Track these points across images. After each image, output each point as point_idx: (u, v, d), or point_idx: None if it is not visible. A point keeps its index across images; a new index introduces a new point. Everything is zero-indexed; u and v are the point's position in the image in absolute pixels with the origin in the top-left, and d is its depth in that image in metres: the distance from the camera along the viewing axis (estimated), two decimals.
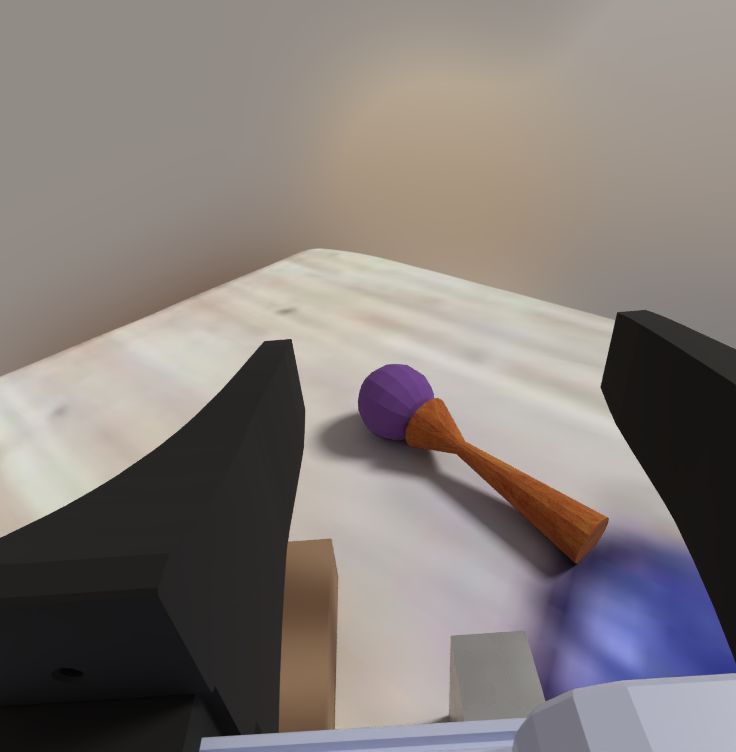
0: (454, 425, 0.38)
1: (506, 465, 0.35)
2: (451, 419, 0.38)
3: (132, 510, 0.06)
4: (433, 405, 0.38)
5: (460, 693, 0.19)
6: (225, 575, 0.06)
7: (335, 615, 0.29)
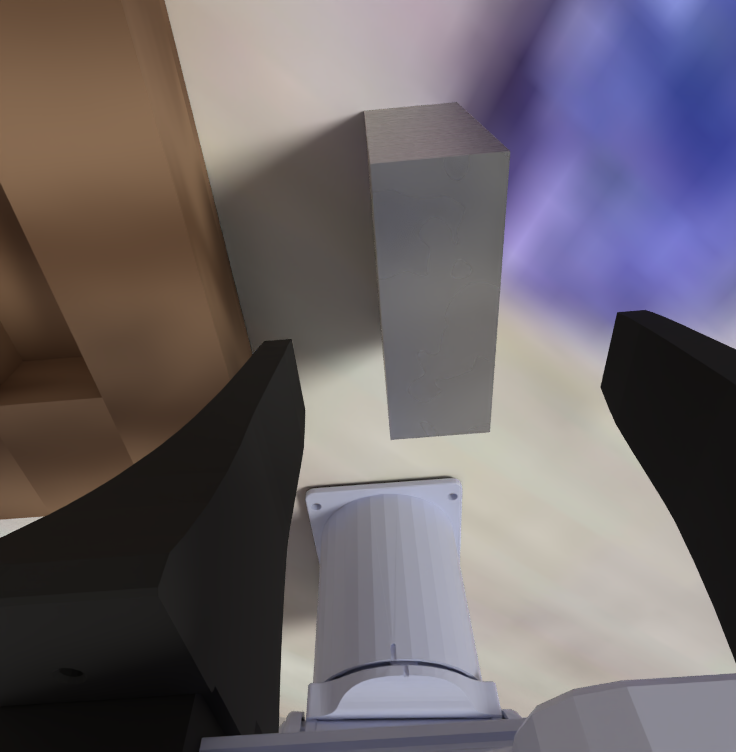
0: None
1: None
2: None
3: (132, 509, 0.06)
4: None
5: (377, 257, 0.13)
6: (225, 575, 0.06)
7: None
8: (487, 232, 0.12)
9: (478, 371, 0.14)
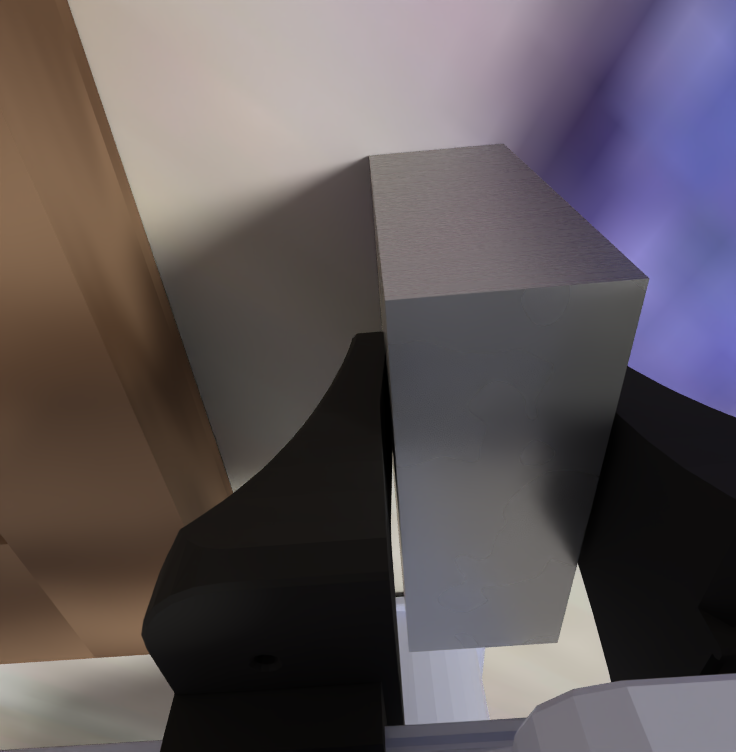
0: None
1: None
2: None
3: (307, 497, 0.06)
4: None
5: (395, 436, 0.07)
6: (390, 563, 0.06)
7: None
8: (588, 402, 0.07)
9: (549, 577, 0.09)
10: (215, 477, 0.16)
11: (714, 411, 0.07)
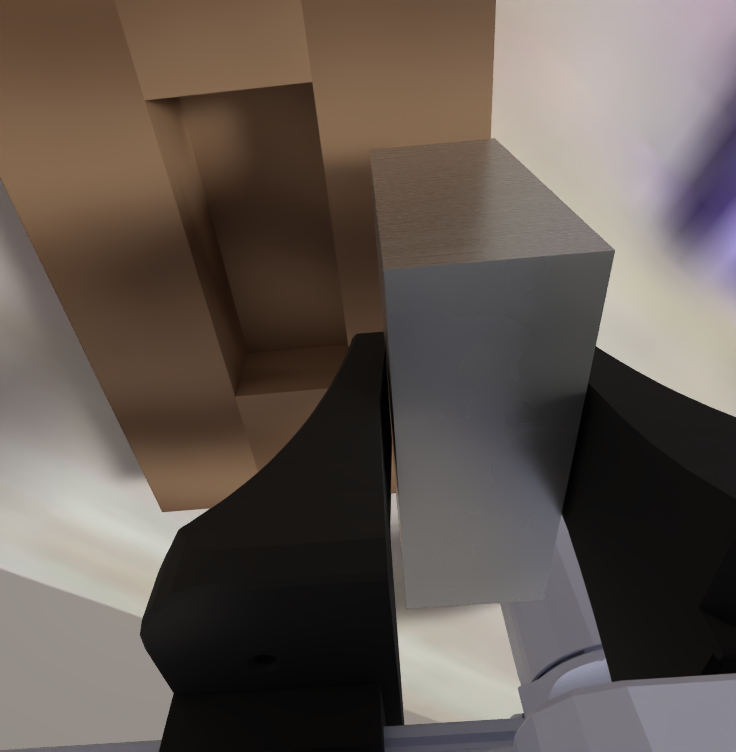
0: None
1: None
2: None
3: (306, 497, 0.06)
4: None
5: (393, 396, 0.08)
6: (389, 563, 0.06)
7: None
8: (565, 364, 0.08)
9: (534, 534, 0.10)
10: None
11: (715, 411, 0.07)
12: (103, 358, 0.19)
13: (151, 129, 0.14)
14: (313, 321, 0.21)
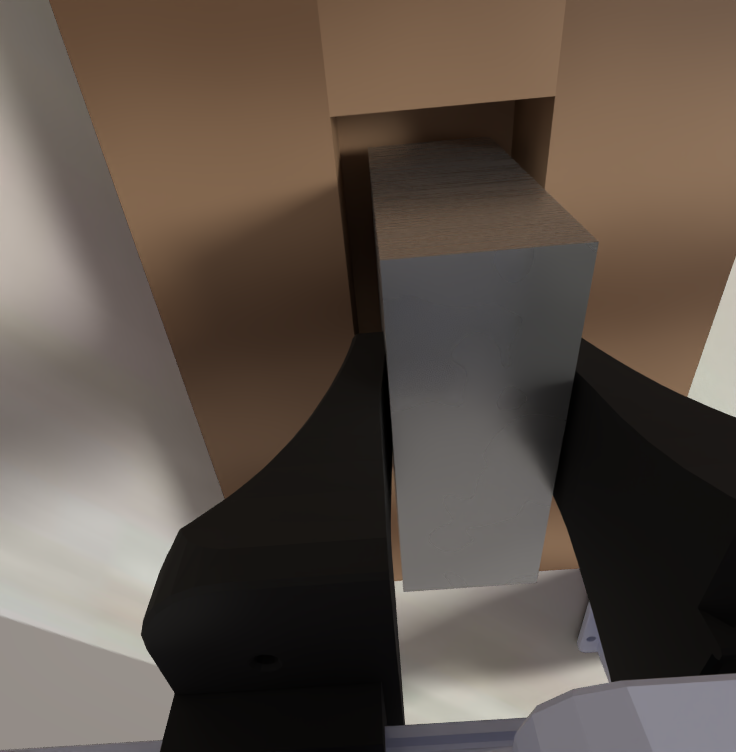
0: None
1: None
2: None
3: (307, 497, 0.06)
4: None
5: (390, 382, 0.09)
6: (390, 563, 0.06)
7: None
8: (554, 351, 0.08)
9: (526, 517, 0.10)
10: None
11: (714, 411, 0.07)
12: (218, 426, 0.15)
13: (331, 154, 0.11)
14: None
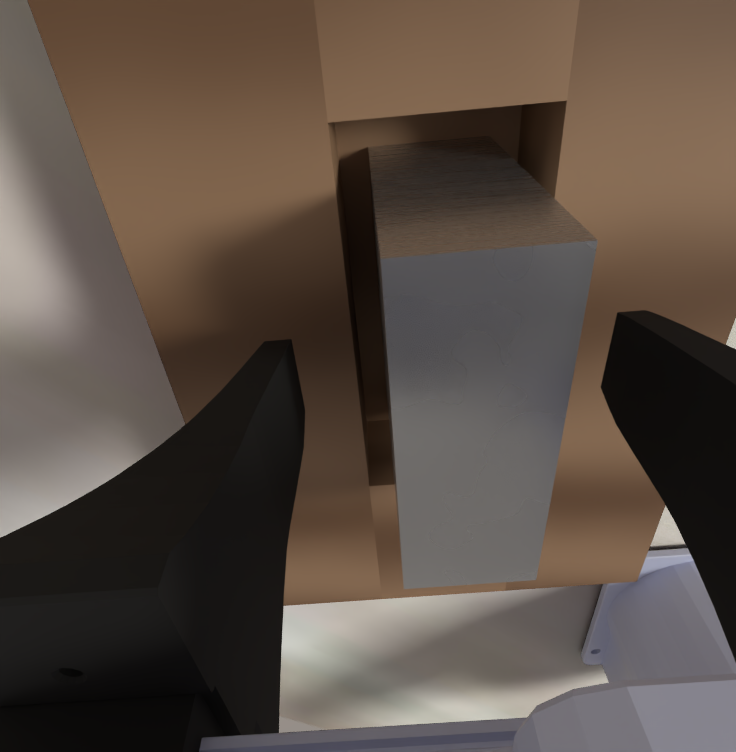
0: None
1: None
2: None
3: (131, 509, 0.06)
4: None
5: (390, 380, 0.09)
6: (225, 575, 0.06)
7: None
8: (553, 349, 0.08)
9: (526, 515, 0.11)
10: None
11: None
12: None
13: (329, 162, 0.10)
14: None
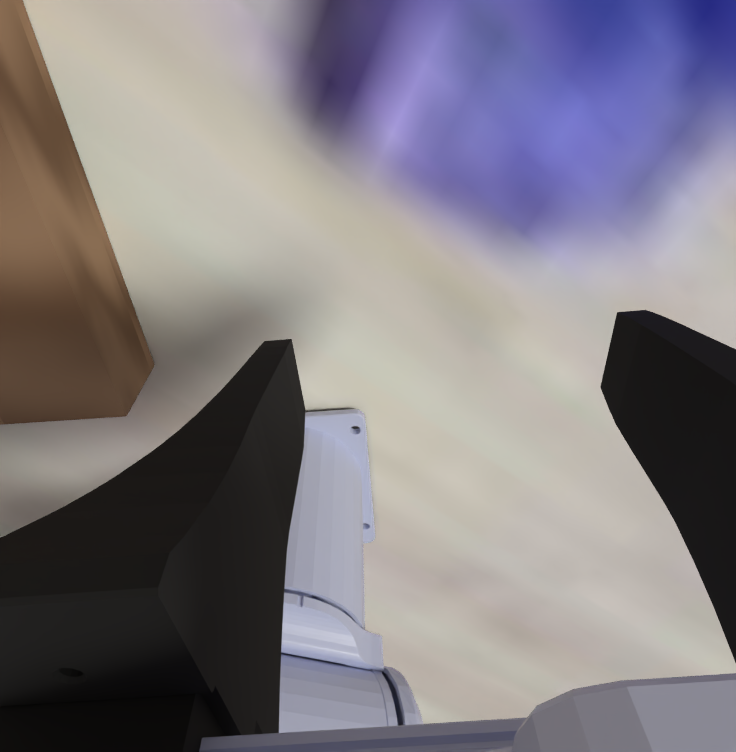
0: None
1: None
2: None
3: (132, 509, 0.06)
4: None
5: None
6: (225, 575, 0.06)
7: None
8: None
9: None
10: (104, 260, 0.19)
11: None
12: None
13: None
14: None
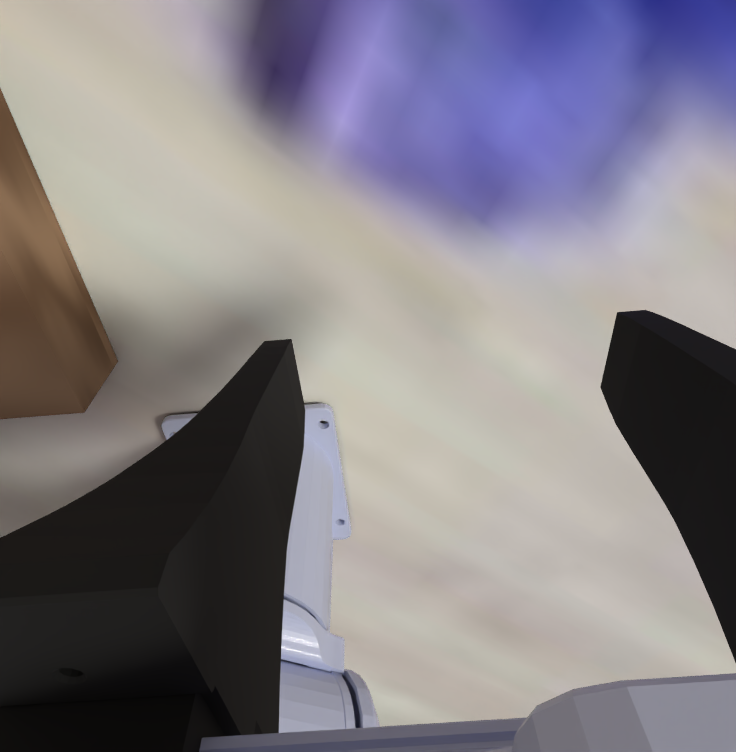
0: None
1: None
2: None
3: (131, 510, 0.06)
4: None
5: None
6: (225, 575, 0.06)
7: None
8: None
9: None
10: (57, 255, 0.19)
11: None
12: None
13: None
14: None
